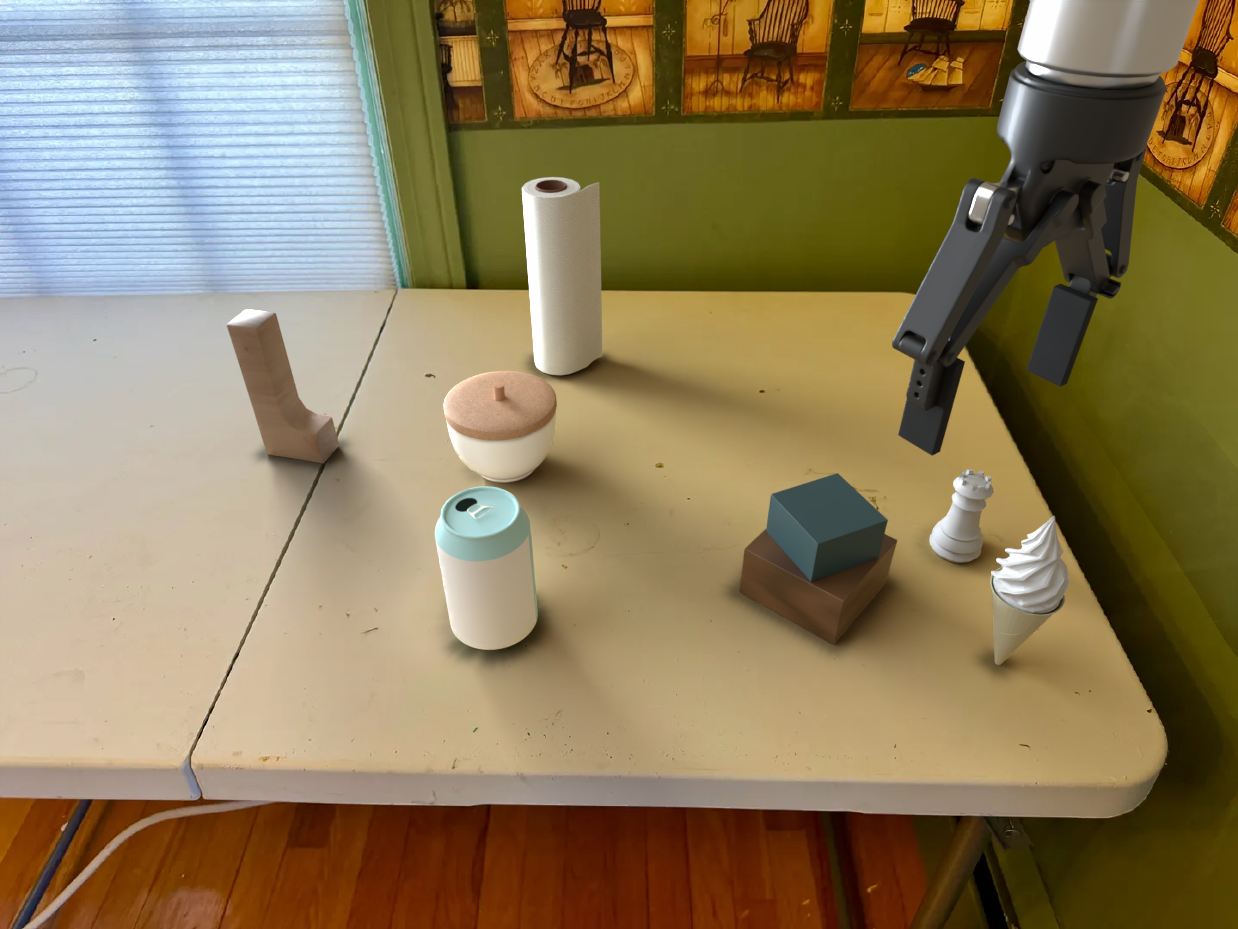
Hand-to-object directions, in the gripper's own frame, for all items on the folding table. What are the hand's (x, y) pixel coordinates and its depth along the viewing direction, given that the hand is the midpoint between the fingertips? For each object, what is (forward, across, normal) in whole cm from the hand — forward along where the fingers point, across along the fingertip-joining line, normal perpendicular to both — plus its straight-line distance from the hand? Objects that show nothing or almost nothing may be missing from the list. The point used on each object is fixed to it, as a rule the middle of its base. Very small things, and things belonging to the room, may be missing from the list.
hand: (985, 408), depth 58 cm
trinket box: (+21, +17, -38) cm, 47 cm away
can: (+21, +28, -20) cm, 40 cm away
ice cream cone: (+21, -2, +6) cm, 22 cm away
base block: (+21, +4, -8) cm, 23 cm away
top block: (+16, +4, -8) cm, 18 cm away
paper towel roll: (+21, +2, -51) cm, 55 cm away
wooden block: (+21, +33, -52) cm, 65 cm away
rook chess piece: (+21, -9, -4) cm, 23 cm away
